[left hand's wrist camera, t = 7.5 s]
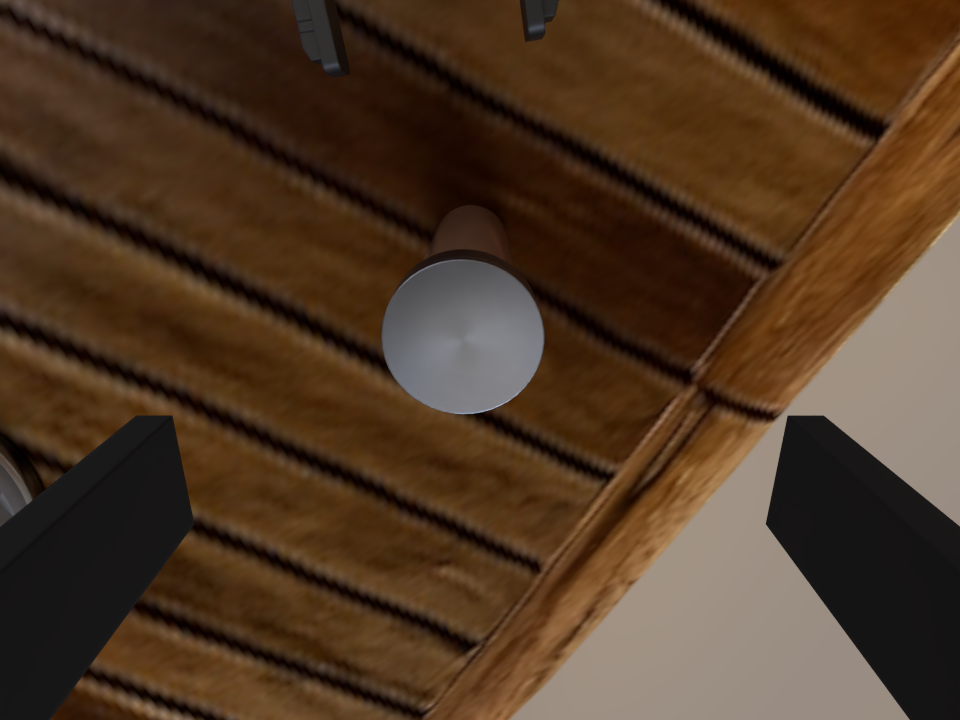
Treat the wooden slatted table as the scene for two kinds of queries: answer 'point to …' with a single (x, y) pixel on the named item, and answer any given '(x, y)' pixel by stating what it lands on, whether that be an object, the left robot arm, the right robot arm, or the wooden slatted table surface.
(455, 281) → the lid
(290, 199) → the wooden slatted table surface
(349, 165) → the wooden slatted table surface
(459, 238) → the pinkish brown cylinder
